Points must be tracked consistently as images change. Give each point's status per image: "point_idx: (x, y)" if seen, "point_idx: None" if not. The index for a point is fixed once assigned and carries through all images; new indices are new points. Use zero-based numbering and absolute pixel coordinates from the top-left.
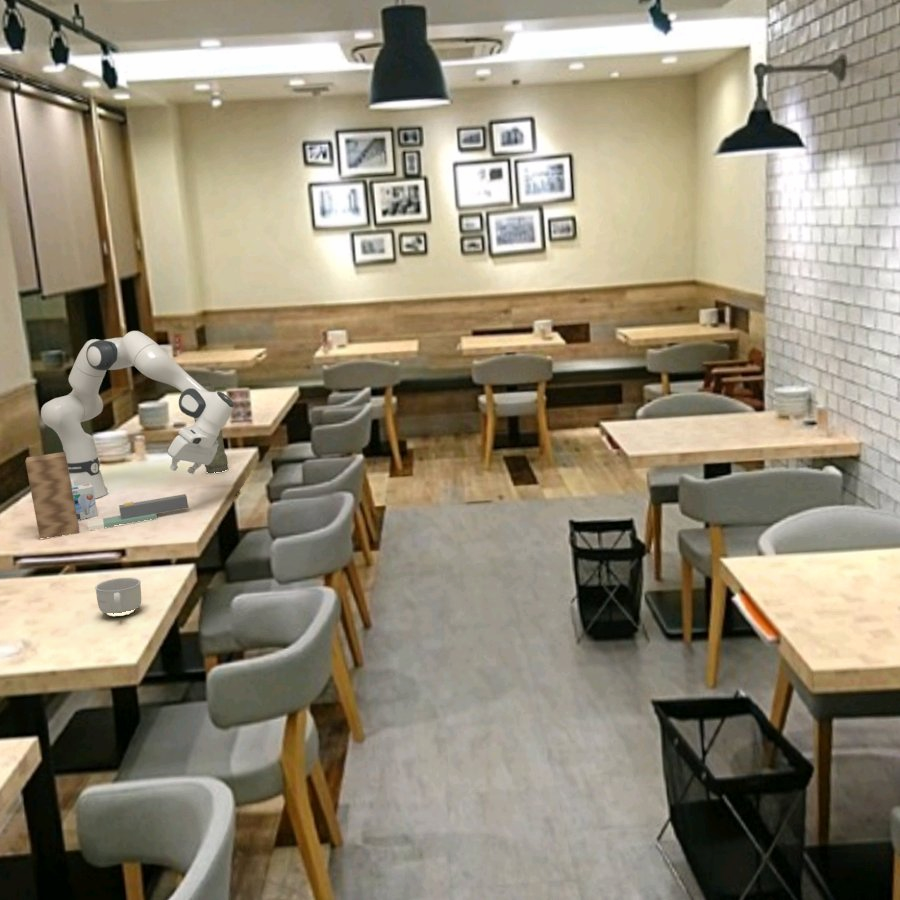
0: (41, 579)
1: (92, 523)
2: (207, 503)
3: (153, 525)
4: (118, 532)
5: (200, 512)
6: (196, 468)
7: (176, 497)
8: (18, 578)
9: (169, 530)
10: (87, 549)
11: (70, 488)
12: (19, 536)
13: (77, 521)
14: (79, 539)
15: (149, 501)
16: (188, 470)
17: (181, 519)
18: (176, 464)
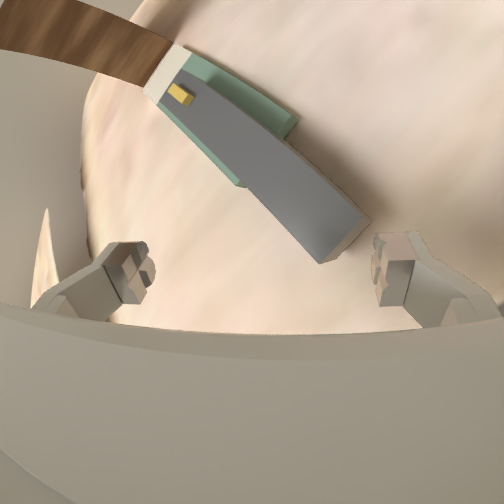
0: (49, 248)
1: (160, 73)
2: (468, 257)
3: (194, 230)
4: (147, 176)
5: (341, 314)
6: (421, 321)
7: (296, 213)
8: (48, 214)
9: (173, 315)
10: (90, 208)
11: (53, 59)
12: (137, 19)
13: (150, 50)
14: (117, 132)
15: (225, 129)
16: (377, 245)
17: (255, 289)
18: (98, 319)
